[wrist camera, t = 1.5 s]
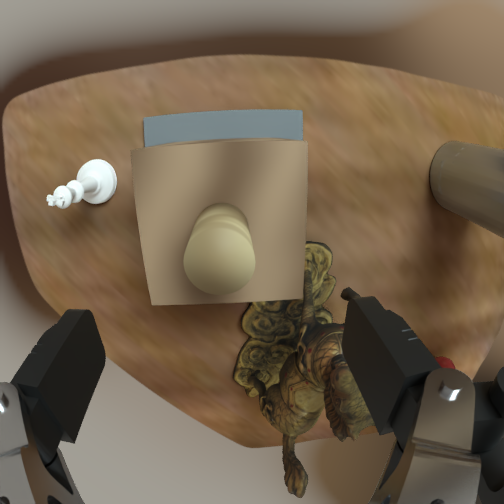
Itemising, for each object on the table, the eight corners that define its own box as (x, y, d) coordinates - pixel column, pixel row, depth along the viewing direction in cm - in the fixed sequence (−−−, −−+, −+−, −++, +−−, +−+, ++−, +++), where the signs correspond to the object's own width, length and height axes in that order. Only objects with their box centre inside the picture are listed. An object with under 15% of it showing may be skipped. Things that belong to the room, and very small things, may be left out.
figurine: (367, 257, 35) (469, 370, 17) (287, 397, 44) (315, 512, 25) (268, 225, 32) (329, 359, 14) (206, 384, 41) (207, 513, 22)
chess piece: (110, 209, 31) (69, 240, 22) (74, 195, 30) (25, 221, 21) (122, 166, 29) (81, 182, 20) (84, 154, 28) (34, 166, 19)
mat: (301, 110, 29) (302, 110, 28) (299, 255, 35) (300, 257, 34) (144, 117, 28) (143, 117, 27) (158, 262, 34) (157, 263, 33)
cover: (274, 137, 29) (336, 145, 12) (274, 233, 33) (321, 344, 16) (172, 142, 29) (95, 158, 11) (179, 238, 32) (134, 352, 15)
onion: (447, 346, 43) (471, 374, 36) (434, 370, 45) (454, 399, 38) (424, 348, 43) (447, 379, 35) (411, 374, 45) (430, 405, 37)
